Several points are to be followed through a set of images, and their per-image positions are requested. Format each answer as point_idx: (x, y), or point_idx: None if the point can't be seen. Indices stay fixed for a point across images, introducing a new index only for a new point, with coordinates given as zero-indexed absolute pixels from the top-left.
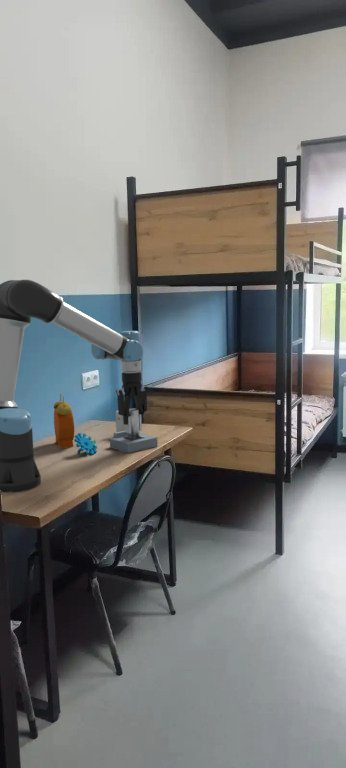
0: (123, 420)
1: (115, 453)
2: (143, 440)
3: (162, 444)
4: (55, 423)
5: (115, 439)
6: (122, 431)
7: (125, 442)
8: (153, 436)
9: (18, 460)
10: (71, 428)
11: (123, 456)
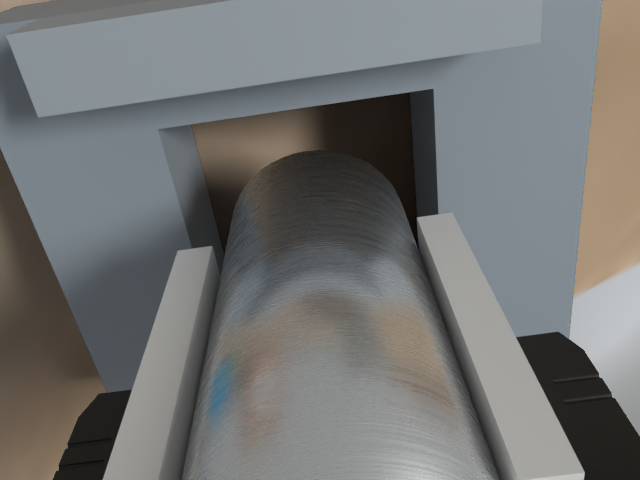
0: (58, 474)
1: (17, 302)
2: None
3: (618, 263)
4: None
5: (28, 169)
6: (206, 33)
7: (118, 367)
8: (568, 306)
9: None
10: None
11: (68, 414)
